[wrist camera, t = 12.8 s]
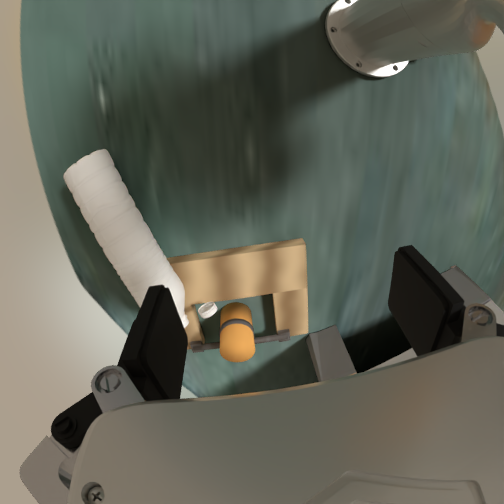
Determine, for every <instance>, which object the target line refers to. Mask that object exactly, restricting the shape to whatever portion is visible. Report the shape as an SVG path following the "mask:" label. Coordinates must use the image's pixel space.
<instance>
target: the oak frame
mask: <svg viewBox="0 0 504 504" xmlns="http://www.w3.org/2000/svg"><path fill="white" fill-rule="evenodd" d="M167 260H168V261H169V263H170V265H171V266H172V268H173V271H175V273H176V274H177V276H178V277H179V279H180V280H181V282H182V284H183V286H184V290H185V306H184V314H186V315H187V319H188V321H189V324H188V325H187V326H186V327H185V328H184V329H185V331H186V334H187V337H188V347H187V349H192V351H193V353H194V352H204V350H208V349H217V348H220V342H215V343H206V344H205V338H204V335H203V331H202V328H201V325H200V322H199V318H198V315H197V312H196V308H195V305H194V304H200V303H207V302H216V301H223V300H231V299H238V298H245V297H252V296H259V295H266V294H272V296H273V306H274V315H275V325H276V332H277V334H276V335H269V336H262V337H255V338H254V344H257V343H264V342H271V341H277V340H279V342H282V341H288V340H290V336H295V335H300V334H306V333H308V295H307V264H306V244H305V242H304V240H303V239H302V238H300V239H293V240H286V241H279V242H272V243H266V244H259V245H252V246H245V247H238V248H231V249H224V250H217V251H211V252H204V253H197V254H190V255H184V256H177V257H170V258H167Z"/></svg>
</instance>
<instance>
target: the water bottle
mask: <svg viewBox="0 0 504 504" xmlns="http://www.w3.org/2000/svg"><path fill="white" fill-rule="evenodd" d="M63 177H64V180H65V182H66V184H67V186H68V188H69V190H70V192H71V193H73V198H74V200H75V202H76V204H77V205H78V206H79V207H80V210H81V213H82V215H83V217H84V219H85V220H86V222H87V223H88V224H89V227H90V229H91V231H92V232H93V233H94V234H95V238H96V240H97V242H98V243H99V245H100V246H101V247H102V248H103V251H104V253H105V255H106V257H107V258H108V259H109V261H110V263H111V264H113V267H114V269H115V270H117V274H118V275H120V278H121V280H122V281H123V282H124V284H125V286H127V289H128V290H129V291H130V293H131V295H132V296H133V297H134V299H135V301H136V302H137V304H138V305H139V307H140V308H141V305H142V303H143V300H144V298H145V295H146V293H147V290H148V288H149V286H155V285H164V286H165V288H167V287H168V288H169V289H170V292H171V295H172V297H173V300H174V303H175V305H176V308H177V311H178V313H179V316H180V319H181V321H182V324H183V326H184V328H185V327H186V326H187V325H188V324H189V321H188V319H187V315H186V314H184V306H185V290H184V286H183V284H182V282H181V280H180V279H179V277H178V276H177V274H176V273H175V271H173V268H172V266H171V265H170V263H169V261H168V260H167V258H166V256H165V255H163V251H162V250H161V249H160V246H159V245H158V244H157V241H156V240H155V239H154V238H153V235H152V233H151V231H150V229H149V227H148V225H147V224H146V223H145V222H144V221H143V217H142V215H141V213H140V211H139V210H138V208H136V206H135V202H134V200H133V199H132V197H131V196H130V195H129V194H128V189H127V187H126V186H125V184H124V183H123V182H122V179H121V176H120V174H119V172H118V170H117V169H116V168H115V167H114V162H113V160H112V158H111V156H110V154H109V152H108V151H107V150H106V149H102V150H97V151H94V152H92V153H91V154H90V155H86V156H84V157H83V158H81V159H80V160H78V161H77V163H75V164H73V165H72V166H70V167H69V168H68V169H67V171H66V172H65V173H64V176H63ZM210 303H211V304H210ZM207 304H208V305H207ZM205 305H206V306H205ZM216 311H217V307H216V305H215V303H214V302H207V303H205V304H204V305H202V306H201V307H200V308H199V310H198V313H199V314H200V316H201V317H202V318H208V317H210V316H212V315H213V314H214V313H215V312H216Z"/></svg>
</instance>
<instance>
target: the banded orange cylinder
mask: <svg viewBox="0 0 504 504" xmlns="http://www.w3.org/2000/svg"><path fill="white" fill-rule="evenodd" d="M219 337H220V354H221V356H222V357H223V358H224V359H226V360H228V361H231V362H243V361H246V360H248V359H250V358H251V357H252V356H253V355H254V353H255V344H254V329H253V326H252V316H251V311H250V309H249V307H248V306H246V305H245V304H243V303H238V302H233V303H229V304H227V305H226V306H224V307H223V309H222V310H221V319H220V330H219Z"/></svg>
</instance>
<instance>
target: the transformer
mask: <svg viewBox="0 0 504 504" xmlns="http://www.w3.org/2000/svg"><path fill="white" fill-rule="evenodd" d="M441 275H442V276H443V277H444V278H445V280H446V281H447V282H448V283H449V284H450V285H451V286H452V287H453V288H454V289H455V290H456V292H457V293H458V294H459V295H460V296H461V297H462V298H463V300H464V305H465V307H466V308H467V306H468V305H471V304H475V303H478V304H483V305H486V306H487V307H489V308H490V309H491V310H492V311H493V312H494V314H495V315H496V323H498V324H501V325H504V312H503V311H502V310H501V309H500V308H499V307H498V306H497V305H496V304H495V303H494V302H493V301H492V300H491V298H490V297H489V296H488V295H487V294H486V293H485V292H484V291H483V290H482V289H481V288H480V287H479V286H478V285H477V284H476V283H475V282H474V281H472V280H471V279H470V278H469V277H468V276H467V275H466V274H465V273H464V272H463V271H462V270H461V269H460V268H458V267H457V266H456V265H455V266H452V269H450V270H448V271H446V272H444V273H442V274H441ZM306 342H307V346H308V349H309V352H310V355H311V358H312V362H313V365H314V368H315V371H316V375H317V378H318V381H319V382H322V381H327V380H332V379H336V378H341V377H345V376H349V375H354V374H357V373H356V370H355V368H354V366H353V363H352V361H351V359H350V356H349V354H348V352H347V349H346V347H345V345H344V342H343V340H342V338H341V336H340V333H339V331H338V329H337V327H336V325H334V326H332V327H329V328H327V329H324V330H321V331H319V332H316V333H311V334H309V335H308V337H307V339H306ZM415 357H417V355H416V353H415V352H414V350H413V348H411V349H409V350H407V351H406V352H404V353H402V354H400V355H398V356H396V357H393V358H392V359H390V360H388V361H386V362H384V363H382V364H380V365H378V366H376V367H373V368H371V369H369V370H367V371H370V370H373V369H377V368H381V367H385V366H388V365H392V364H395V363H398V362H402V361H405V360H408V359H411V358H415ZM365 372H366V371H365Z"/></svg>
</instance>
